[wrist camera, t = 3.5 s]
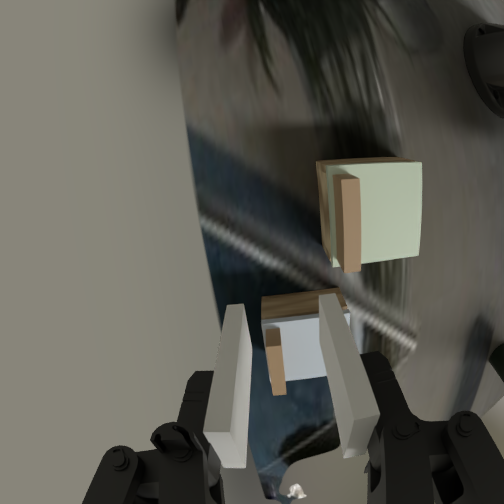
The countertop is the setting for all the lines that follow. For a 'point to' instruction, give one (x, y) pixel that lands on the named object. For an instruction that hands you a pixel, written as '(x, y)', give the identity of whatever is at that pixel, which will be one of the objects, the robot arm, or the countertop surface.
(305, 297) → the box far
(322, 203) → the box near
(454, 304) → the countertop surface
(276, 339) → the lid far
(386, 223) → the lid near
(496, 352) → the wine bottle
